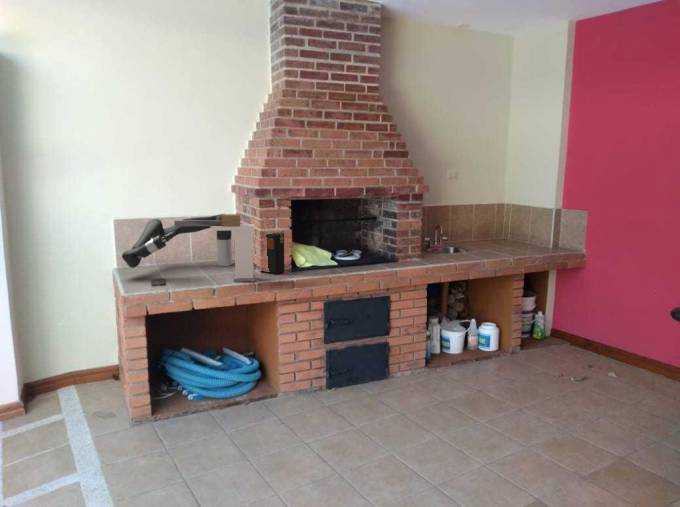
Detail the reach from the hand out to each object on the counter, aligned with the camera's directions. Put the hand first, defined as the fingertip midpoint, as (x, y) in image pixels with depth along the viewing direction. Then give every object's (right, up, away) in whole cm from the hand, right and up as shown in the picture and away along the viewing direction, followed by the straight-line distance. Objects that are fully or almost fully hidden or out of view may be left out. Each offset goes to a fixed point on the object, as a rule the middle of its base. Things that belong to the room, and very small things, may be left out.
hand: (179, 230), depth 317 cm
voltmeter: (+51, -25, +20) cm, 60 cm away
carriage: (+19, +2, -9) cm, 21 cm away
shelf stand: (+32, -29, -1) cm, 43 cm away
